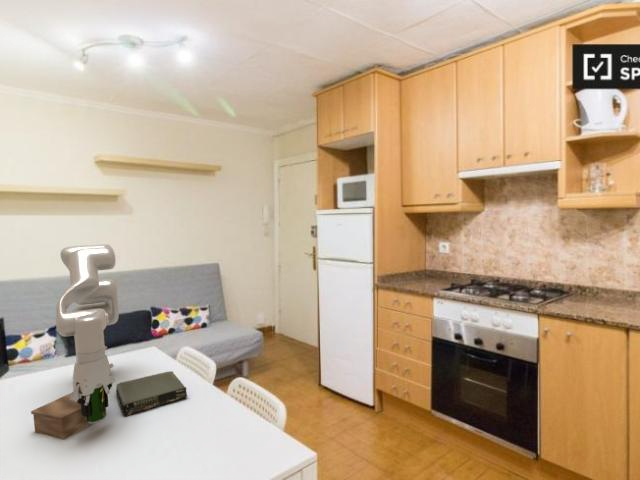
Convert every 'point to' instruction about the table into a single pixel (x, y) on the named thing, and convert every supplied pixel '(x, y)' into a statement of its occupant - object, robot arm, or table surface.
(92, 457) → the table surface
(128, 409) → the network switch
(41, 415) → the wooden block
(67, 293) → the robot arm
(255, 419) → the table surface
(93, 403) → the beer can
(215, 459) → the table surface
